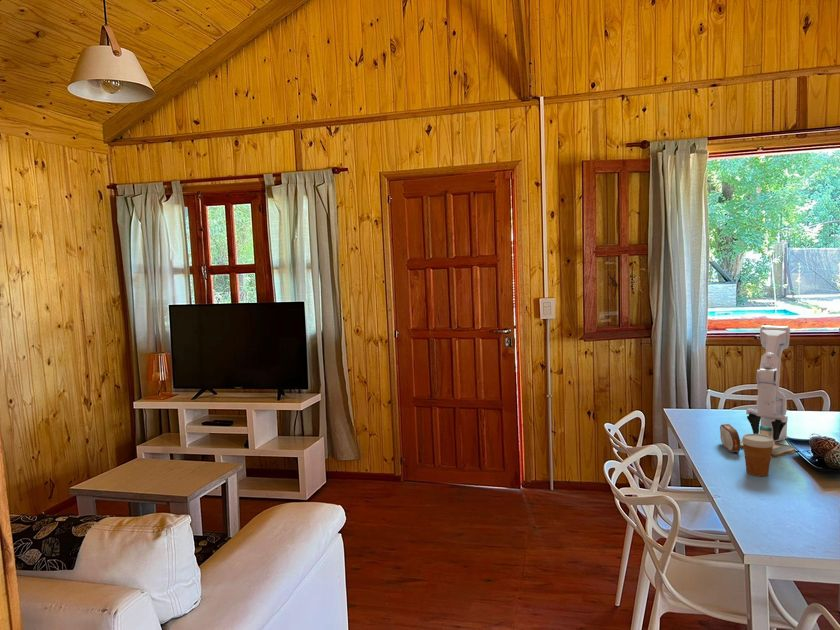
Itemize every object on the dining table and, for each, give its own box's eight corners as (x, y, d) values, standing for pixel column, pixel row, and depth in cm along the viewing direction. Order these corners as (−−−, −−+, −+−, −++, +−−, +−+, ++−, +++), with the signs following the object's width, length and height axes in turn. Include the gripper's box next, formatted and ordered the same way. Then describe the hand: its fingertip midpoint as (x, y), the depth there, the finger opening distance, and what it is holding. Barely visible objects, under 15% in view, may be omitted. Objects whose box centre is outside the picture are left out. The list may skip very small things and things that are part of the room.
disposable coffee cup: (734, 470, 202) (735, 435, 201) (754, 466, 206) (755, 431, 205) (760, 480, 194) (761, 443, 193) (780, 475, 197) (781, 439, 196)
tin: (741, 455, 218) (741, 432, 217) (731, 455, 218) (732, 432, 218) (727, 442, 233) (727, 421, 232) (718, 442, 233) (718, 421, 232)
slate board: (756, 440, 234) (757, 437, 234) (798, 451, 220) (798, 447, 220) (733, 446, 228) (733, 443, 228) (775, 457, 214) (775, 454, 214)
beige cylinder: (763, 443, 227) (764, 424, 226) (774, 445, 223) (774, 427, 222) (756, 444, 225) (757, 426, 224) (767, 447, 221) (767, 429, 221)
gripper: (741, 398, 227) (740, 434, 228) (779, 406, 214) (778, 443, 215) (753, 396, 230) (752, 431, 232) (791, 403, 217) (790, 440, 219)
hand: (765, 437), depth 224 cm, fingers open, 7 cm apart
